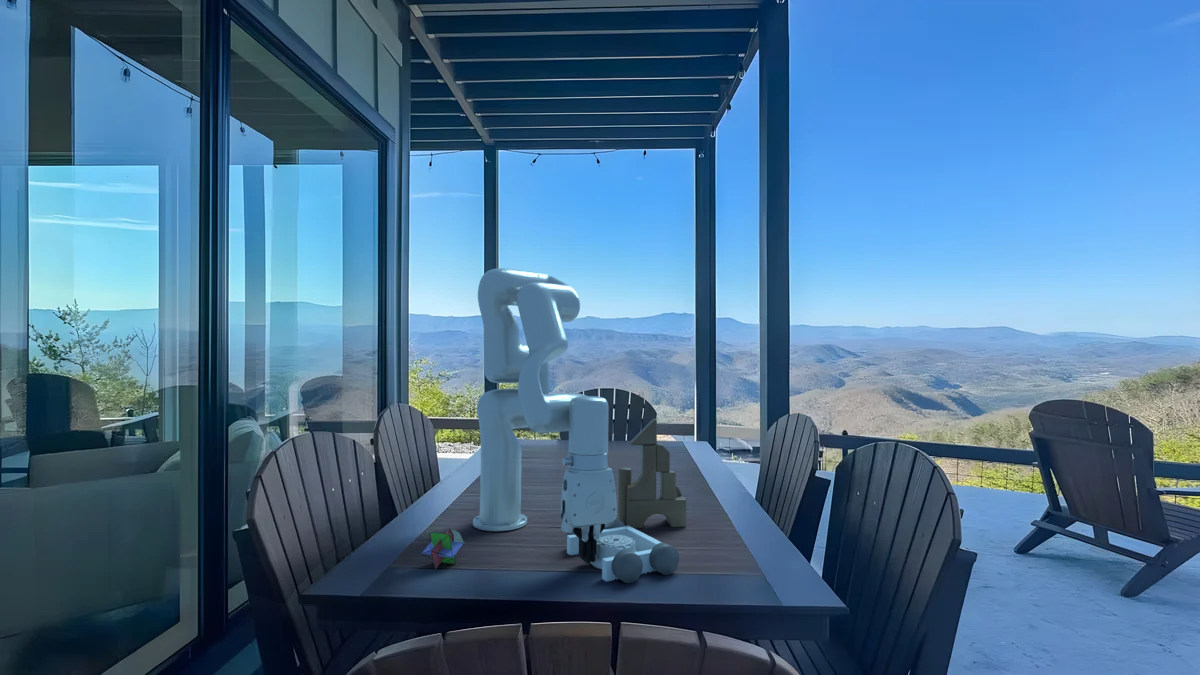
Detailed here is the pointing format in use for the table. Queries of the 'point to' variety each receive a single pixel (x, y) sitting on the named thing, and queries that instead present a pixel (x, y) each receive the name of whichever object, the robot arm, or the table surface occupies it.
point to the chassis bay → (632, 555)
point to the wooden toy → (650, 485)
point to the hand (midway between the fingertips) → (587, 559)
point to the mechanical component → (612, 547)
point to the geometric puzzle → (443, 547)
